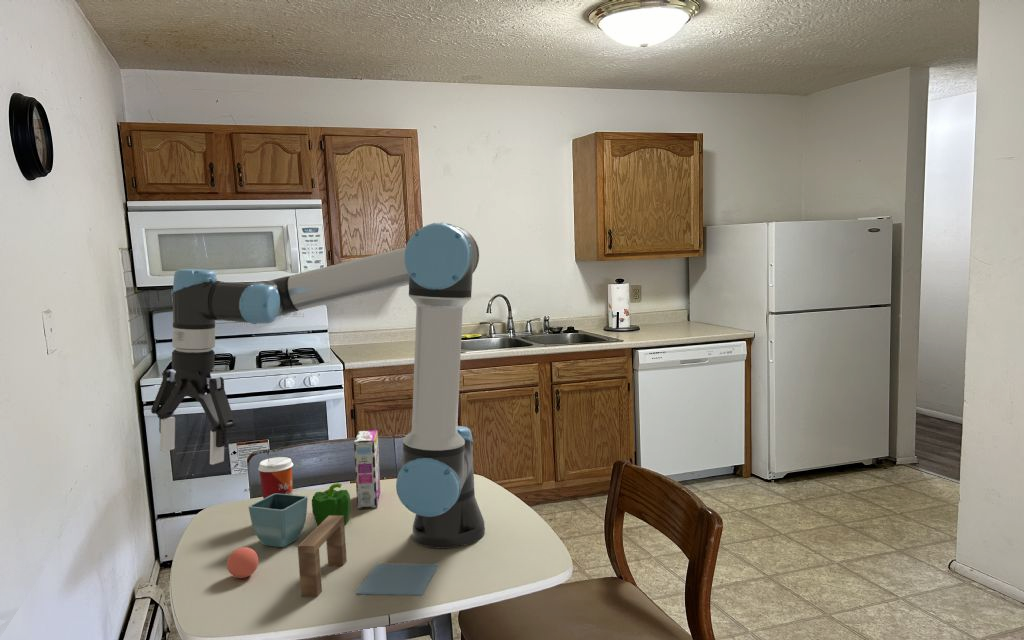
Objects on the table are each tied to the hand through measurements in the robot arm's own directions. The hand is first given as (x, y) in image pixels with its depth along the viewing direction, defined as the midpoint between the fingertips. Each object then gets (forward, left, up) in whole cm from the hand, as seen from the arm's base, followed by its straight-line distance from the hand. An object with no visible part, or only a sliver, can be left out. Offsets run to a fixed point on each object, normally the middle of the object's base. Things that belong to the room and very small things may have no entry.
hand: (191, 456), depth 139 cm
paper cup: (-6, -22, -22) cm, 32 cm away
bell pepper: (-20, -18, -22) cm, 35 cm away
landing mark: (-42, +6, -22) cm, 48 cm away
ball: (-12, +6, -19) cm, 23 cm away
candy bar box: (-23, -35, -22) cm, 48 cm away
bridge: (-28, +6, -22) cm, 36 cm away
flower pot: (-12, -10, -22) cm, 27 cm away
